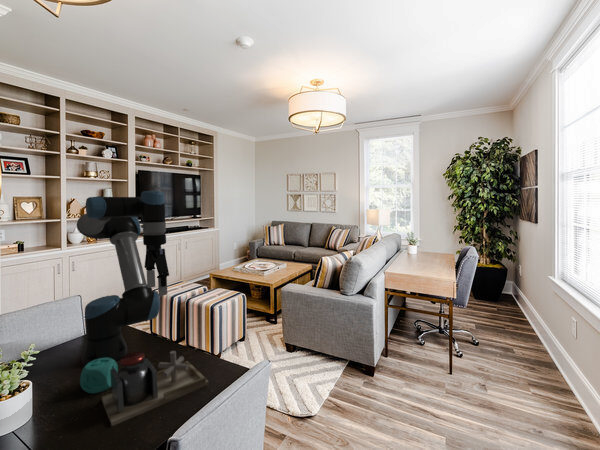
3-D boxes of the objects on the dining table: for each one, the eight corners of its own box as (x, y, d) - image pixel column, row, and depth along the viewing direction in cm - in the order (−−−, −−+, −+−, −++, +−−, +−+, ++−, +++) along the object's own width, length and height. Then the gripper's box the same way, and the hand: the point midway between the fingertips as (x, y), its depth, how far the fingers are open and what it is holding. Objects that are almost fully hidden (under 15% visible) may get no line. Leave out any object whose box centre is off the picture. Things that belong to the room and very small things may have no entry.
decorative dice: (107, 392, 98) (106, 368, 97) (80, 395, 96) (78, 370, 96) (118, 378, 106) (117, 356, 105) (93, 380, 104) (92, 358, 104)
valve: (112, 400, 93) (109, 357, 92) (148, 386, 100) (146, 346, 99) (119, 417, 86) (116, 370, 85) (158, 401, 93) (155, 357, 92)
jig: (101, 400, 94) (101, 391, 93) (190, 366, 112) (190, 359, 112) (111, 426, 82) (111, 417, 82) (208, 384, 101) (208, 376, 101)
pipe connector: (179, 391, 96) (178, 361, 95) (151, 388, 97) (149, 358, 97) (195, 373, 106) (194, 345, 105) (169, 371, 107) (168, 343, 106)
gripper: (134, 232, 117) (136, 286, 118) (154, 237, 98) (156, 301, 100) (154, 230, 122) (157, 282, 123) (177, 235, 103) (179, 296, 105)
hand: (156, 291), depth 111 cm, fingers open, 13 cm apart
